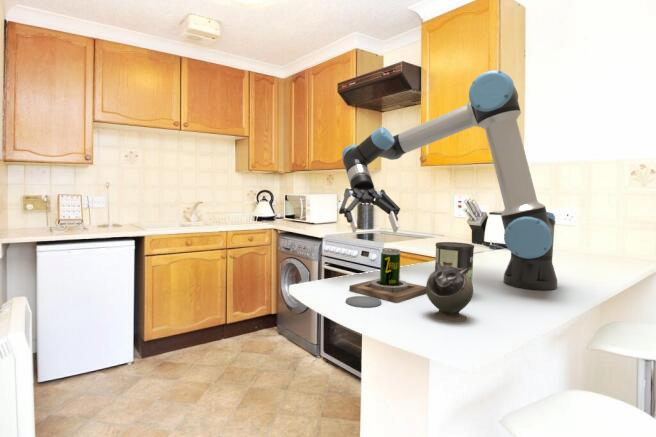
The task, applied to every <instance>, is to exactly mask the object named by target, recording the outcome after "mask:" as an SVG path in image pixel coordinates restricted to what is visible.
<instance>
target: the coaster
mask: <svg viewBox="0 0 656 437" xmlns="http://www.w3.org/2000/svg"><path fill="white" fill-rule="evenodd" d="M345 303H346V304H347V305H349V306H352V307H356V308H366V309H367V308H377V307H379V306H381V305H382V299H379V298H375V297H371V296H368V295H355V296H349V297H346V299H345Z"/></svg>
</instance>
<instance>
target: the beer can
mask: <svg viewBox="0 0 656 437" xmlns="http://www.w3.org/2000/svg"><path fill="white" fill-rule="evenodd" d="M400 251H401V249H398V248H393V247H392V248H391V247H389V248H381V252H380V271H379V272H380V276H379V279H380V285H384V286H399V280H401V279H400V276H401V275H400V273H401V252H400Z"/></svg>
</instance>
